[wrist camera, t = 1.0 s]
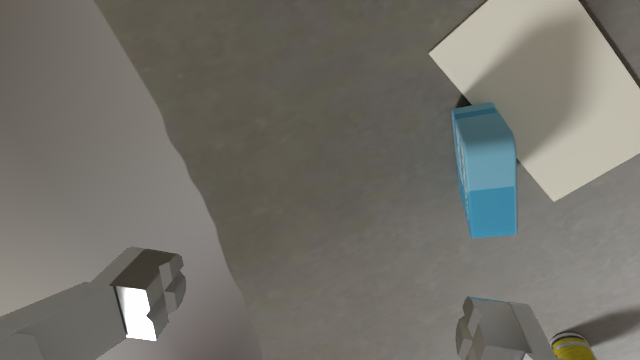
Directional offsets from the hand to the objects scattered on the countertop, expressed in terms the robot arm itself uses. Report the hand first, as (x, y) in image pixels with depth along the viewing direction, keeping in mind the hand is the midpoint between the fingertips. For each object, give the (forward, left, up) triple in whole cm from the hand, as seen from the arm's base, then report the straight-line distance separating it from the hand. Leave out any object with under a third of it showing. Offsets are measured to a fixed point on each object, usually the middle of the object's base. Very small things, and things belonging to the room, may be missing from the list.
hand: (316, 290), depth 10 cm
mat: (-13, +17, -38) cm, 44 cm away
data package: (-3, +17, -38) cm, 42 cm away
